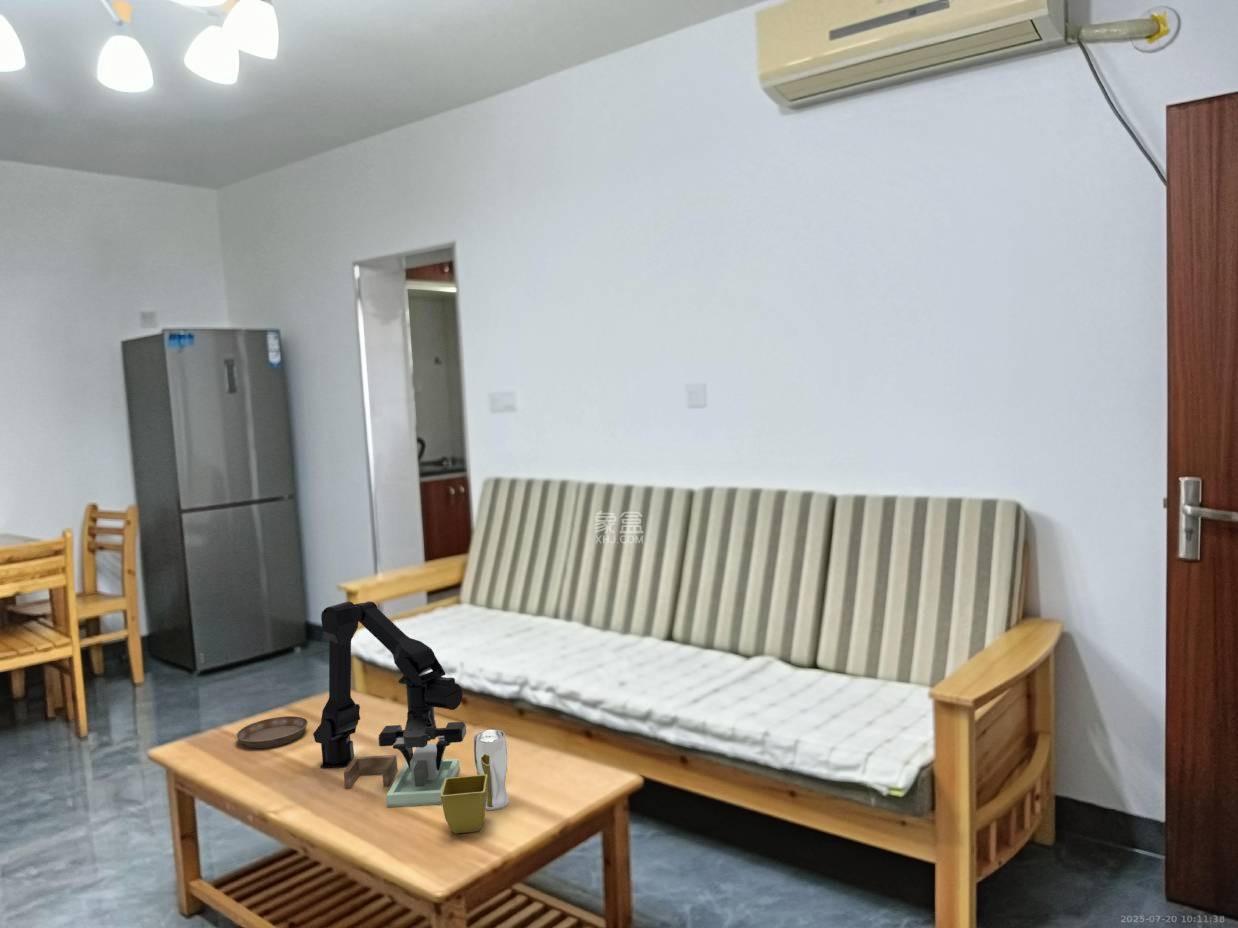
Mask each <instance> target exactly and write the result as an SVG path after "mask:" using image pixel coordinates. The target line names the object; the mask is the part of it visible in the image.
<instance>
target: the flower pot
mask: <svg viewBox="0 0 1238 928" xmlns="http://www.w3.org/2000/svg"><path fill="white" fill-rule="evenodd" d="M487 778H488V776H487V774H484V775H478V774H476V775H475V774H474V775H467V776H466V775H464V776H457V777H452V778H446V779H445V780H444V784H443V788H442V792H441V801H442V804H441V805H442V809H443V815H444V819H445V821H446V823H447V824H446V825H448V828H450V830H451V831H452V832H453V833H454V834H463V833H465V834H466V833H474V832H475V833H476V832H479V831H480V830H481V829H482V827H483V824H484V819H485V815H486V814H485V813H486V809H485V808H486V802H487Z"/></svg>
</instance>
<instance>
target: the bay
mask: <svg viewBox="0 0 1238 928" xmlns="http://www.w3.org/2000/svg"><path fill="white" fill-rule="evenodd" d="M398 770H399V769H398V758H397V754H388V755H386V754H385V755H370V756H367V755H366V756H354V757H353V759H352V760H351V762H350V763H349V764H348V766H346V768H345V769H344V771H343V778H344V789H345V790H350V789H351V788H352V787H353V786H354V784H355V782H357V780H358V778H359V777H360V776H374V775H375V776H376V775H382V783H383V788H386V787H390V786H391V783H392V782H393V780H394V778H395V777H396V775H397V774H398V772H399V771H398Z"/></svg>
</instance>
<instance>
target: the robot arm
mask: <svg viewBox="0 0 1238 928" xmlns="http://www.w3.org/2000/svg"><path fill="white" fill-rule="evenodd" d="M320 616H321V617H320V620H321V626H322V627H321V628H322V629H321V630H322V632H323V634H324V635H325V637H326V638H327V640H328V644H329V646H328V647H329V648H328V649H329V652H328V653H329V654H328V656H329V661H328V663H329V664H328V666H329V667H328V669H329V671H328V673H329V674H328V676H329V677H328V699H327V701H326V703H325V706H324V708H322V712H321V713H322V714H321V718H320V719H321V720H320V724H319V725H318V727H316V729H315V731H314V732H313V734H312V736H313V739H314V741H315V743H317V744H320V746H321V755H322V756H321V758H322V763H321V764H320V768H322V769H324V768H339V767H340V768H342V767H343V768H344V767H348V765H349V764H350V763H351V761H352V760H353V758H354V757H355V751H354V741H353V740H352V738H351V735H352V734H355V733H356V732H357V731H356V730H357V726H358V724H359V721H360V720H361V716H360V709H361V706H360V704H358V703H355V701H354V700H353V698H352V693H351V692H352V691H351V690H352V689H351V688H352V687H351V686H352V684H351V683H352V681H351V680H352V640H353V637H354V636H355V634H356V632H357V630H358V627H359V623H360V624H361V625H362V626H363V627H364V628H365V629H366V630H367V631H368V632H369V633H370V634H371V635H372V636H373V637H375V639H377V640H378V641H379V642H380V643H381V644H382V645H383V646H384V648H386V649H387V650H388V651H389V652H390V653H391V654H392V657H393V662H394V664H395V666H396V667H397V669H398V670H399V671H400V672H401V673H402V675H403V676H402V677H401V678H400V679H399V680H398V681H397V682H398V683H399V684H403V685H405V691H406V702H407V715H406V718H407V720H406V723H405V727H404V729H403V727H402V724H397V725H396V724H395V725H394V724H392V725H385V726H384V727H383V729H382V730H381V732H380V733H379V734H378V746H379V747H392V748H393V749H394V750H398V751H399V752H400V753H401V754H402V755H403V758H404V759H405V762H406V761H407V764H408V766H409V768H410V761H411V759H412V756H413V754H414V751H413V748H416V747H420V748H423V747H425V746H426V745H427V744H429V743H428V742H430V741H432V740H436V738H437V743H435V744H436V748H437V771H439V769H440V766H441V762H442V758H443V759H444V754H445V751H446V747H448V746H450V745H451V744H452V743H453V744H454V743H461V742H463V741H464V738H465V737H466V735H467V725H466V723H465V722H463V721H454V722H453V721H449V722H447V724H446V726H445V727H437V725H436V724H437V723H436V719H435V708H437V709H444V710H449V711H454V710H456V709H457V708H459V706H460V704H461V703H462V700H463V695H464V694H463V689H462V688H461V685H460V684H458V683H456V679H455V677H446V671H445V669H444V668H443V666H442V664H440V662H439V660H438V658H437V656H436V654H435V653H434V651H433V649H432V648H431V647H429V646H428V645H427V644H425V643H424V642H422V641H421V640H417V639H414V638H411V637H409V636H408V635H407V634H405V632H404V631H402V630H401V629H400V628H399V627H398V626H397V625H396V624H395V623H394V622H393V621H392V620H390V618H388V616H386V615H385V613H383V612H382V611H381V610H380V609H379V608H378V605H377V603H375V602H374V601H366V602H359V603H353V602H352V601H344V602H341V603H338V604H333V605H330V606H327V607H325V608H324V610H322V612H321V615H320ZM424 673H425V674H424ZM421 674H422V675H421ZM410 770H411V768H410Z"/></svg>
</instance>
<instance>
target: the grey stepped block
mask: <svg viewBox="0 0 1238 928" xmlns="http://www.w3.org/2000/svg"><path fill="white" fill-rule="evenodd" d="M436 744H437V743H427V745H426V746H425V747H423V748H420V747H415V750H414V751H413V756H412V759H411V761H410V768H411V777H412V781H415V787H419V786H425V784H426V781H427V780H434V779H437V776H438V774H439V771H440V769H439V771H437V748H436ZM443 759H444V757H443V758H442V762H441V765H442V763H443ZM440 768H441V766H440Z"/></svg>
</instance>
